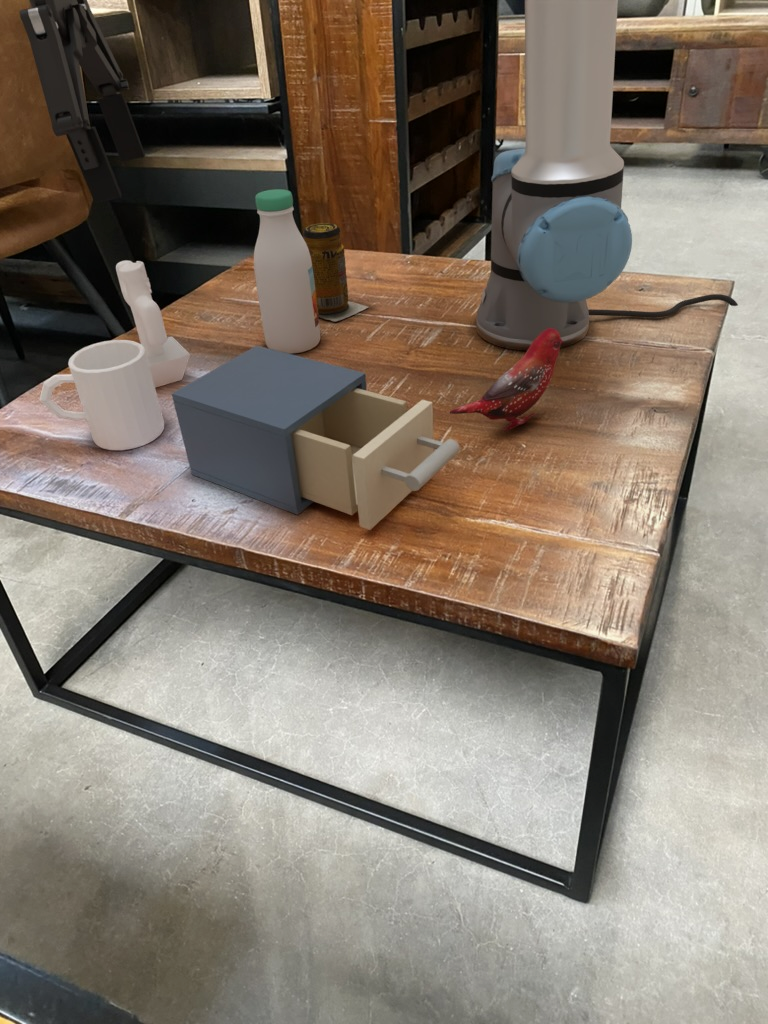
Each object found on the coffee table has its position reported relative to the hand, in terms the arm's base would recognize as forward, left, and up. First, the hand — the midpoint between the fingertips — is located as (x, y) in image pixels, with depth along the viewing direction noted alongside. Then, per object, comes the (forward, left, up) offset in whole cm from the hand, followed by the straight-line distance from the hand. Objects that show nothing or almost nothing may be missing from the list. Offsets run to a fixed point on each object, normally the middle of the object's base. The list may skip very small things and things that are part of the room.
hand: (121, 178), depth 82 cm
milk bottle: (-13, -14, -26) cm, 32 cm away
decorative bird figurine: (-41, +11, -26) cm, 50 cm away
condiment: (-17, -26, -26) cm, 40 cm away
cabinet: (-17, +17, -25) cm, 35 cm away
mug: (+4, +11, -26) cm, 28 cm away
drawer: (-26, +23, -25) cm, 43 cm away
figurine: (+3, -4, -26) cm, 26 cm away
